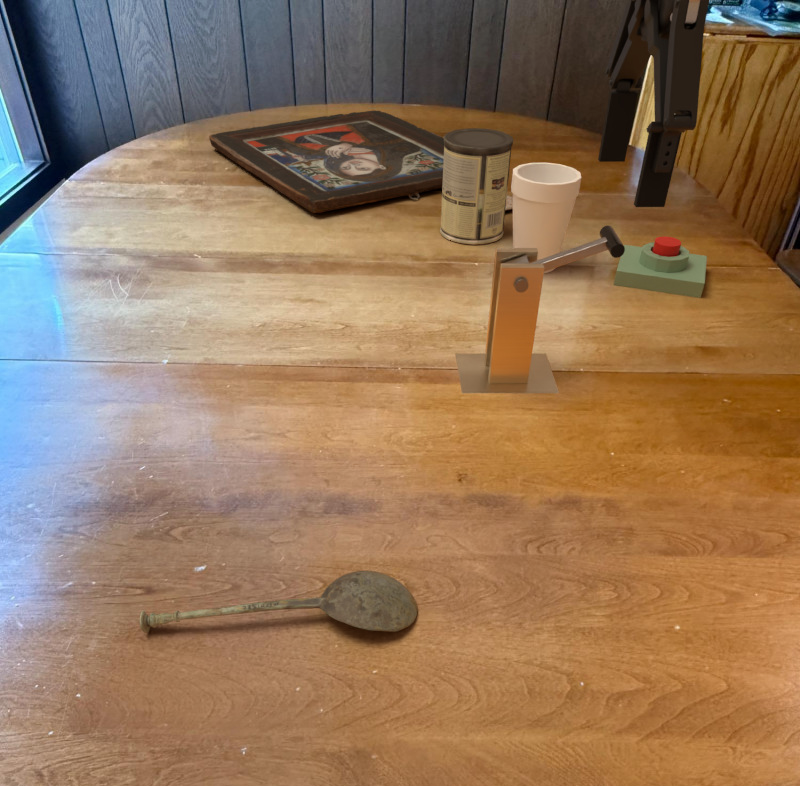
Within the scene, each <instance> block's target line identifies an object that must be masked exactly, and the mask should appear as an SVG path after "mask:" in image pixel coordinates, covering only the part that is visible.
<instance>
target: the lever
mask: <svg viewBox="0 0 800 786" xmlns="http://www.w3.org/2000/svg"><path fill="white" fill-rule="evenodd" d="M599 237H600V238H598V239H595V240H593V241H589V242H586V243H584V244H581V245H578V246H574V247H571V248H569V249H566V250H563V251H560V253H557V254H554V255H552V256H549V257H546V258H543V259H540V260H537V261H534V262H532V263H529V261H528V258H527V256H523V257H520V258H517V259H514V260H511V261H508V262H506V263H503V264H543V265H544V272H545V271H548V270H551V269H554V268H555V269H556V268H559V267H562V266H565V265H568V264H571V263H574V262H576V261H580V260H582V259H585V258H588V257H591V256H594V255H597V254H599V253H603V252H605V251H608V253H609V255H610V256H611V257H612V258H614V259H618V258H619V259H620V257H621V256H622V255H623V254H624V252H625V247H624V244H623V242H622V240H621V238H620V237H619V235H618V234H617V233H616V231H615V230H614V227H613V226H611V225H604V226H603V227H601V229H600V231H599ZM555 269H554V270H555Z"/></svg>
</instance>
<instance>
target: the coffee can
mask: <svg viewBox="0 0 800 786" xmlns="http://www.w3.org/2000/svg"><path fill="white" fill-rule="evenodd" d="M443 138H444V163H443V186H442V188H441V190H442V191H441V211H440V228H439V233H440V234H441V236H442V237H443V238H444V239H446V240H448V241H450V240H451V242H453V243H458V244H463V245H487V244H490V243H491V244H492V243H494V242H497V241H498V240H500V239H501V238H503V237H504V227H505V219H506V218H505V216H506V211H505V208H506V198H507V196H508V186H509V177H510V166H511V158H512V157H511V156H512V146H513V145H514V138H513V136H511V134H508V133H506V132H503V131H501V130H496V129H490V128H479V127H477V128H475V127H474V128H473V127H471V128H461V129H455V130H452V131H449V132H447V133H445V134H444V136H443Z"/></svg>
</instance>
